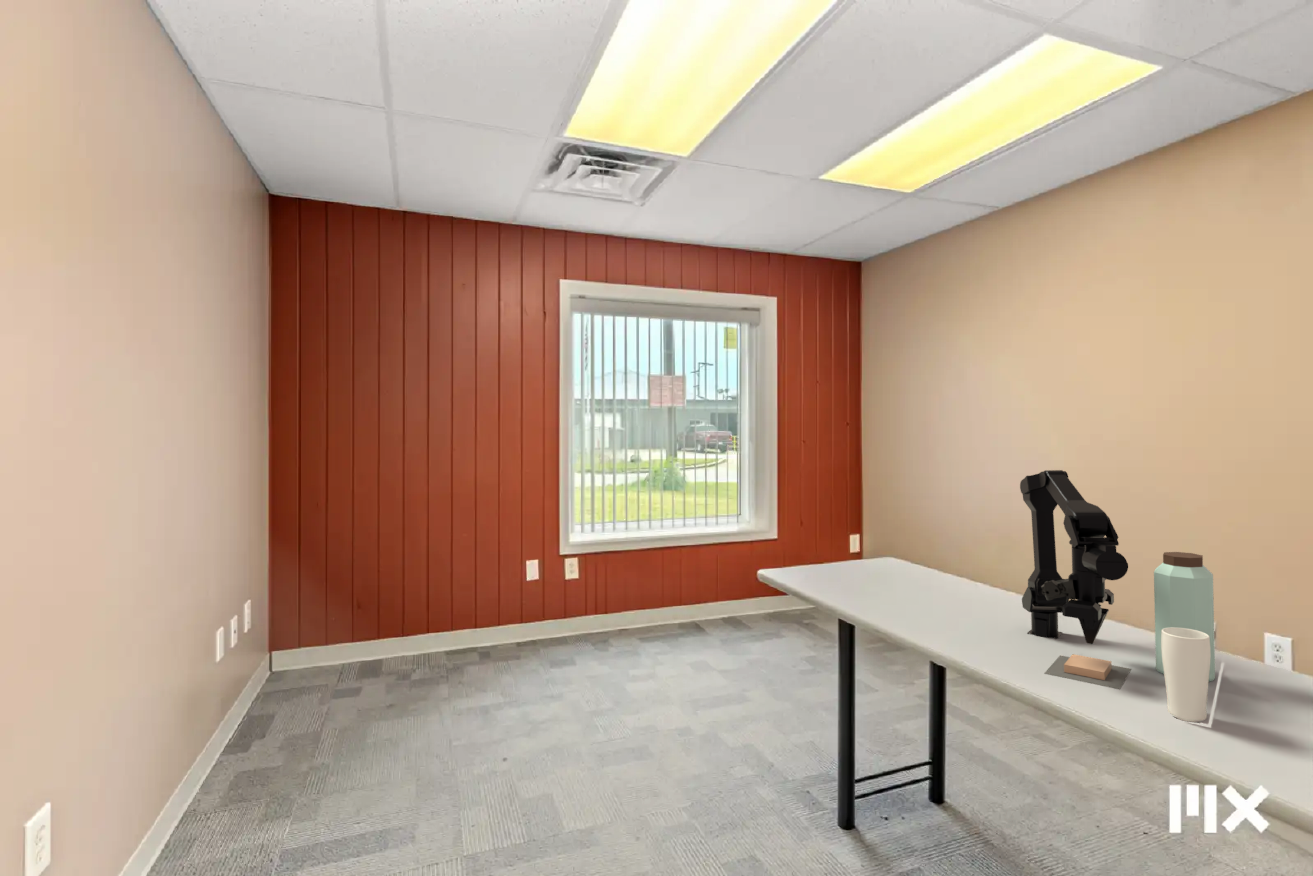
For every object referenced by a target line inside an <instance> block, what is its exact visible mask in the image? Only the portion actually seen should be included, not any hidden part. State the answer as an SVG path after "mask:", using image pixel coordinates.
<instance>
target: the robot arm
mask: <svg viewBox="0 0 1313 876" xmlns="http://www.w3.org/2000/svg"><path fill="white" fill-rule="evenodd" d="M1019 490H1020V493H1021V494H1022V500H1023V502H1024V503H1025V505H1026V506H1027V507H1028V509H1029V510H1030V513H1031V527H1032V528H1031V529H1032V530H1031V531H1032V545H1033V547H1032V549H1033V560H1034V561H1033V562H1034V564H1033V566H1034V570H1033V571H1032V573H1031V574H1030V576H1029V578H1028V579H1027V587H1026V589H1025V592H1024V594H1023V596H1022V598H1021V604H1022V608H1023V609H1024V610H1025V611H1027V612H1028V613H1030V619H1031V621H1030V622H1031V629H1030V630H1029V631H1027V633H1026V634H1027V635H1032V636H1036V637H1043V638H1049V639H1055V640H1056V639H1058V638H1059V637H1060V636H1061V635H1062V634H1063V632H1062V631H1059V614H1060V613H1061V614H1062V616H1063V617H1067V618H1075V619H1078V621H1079V624H1080V626H1081V630H1082V633H1083V637H1084V640H1085V643H1087V644H1090V645H1093V644H1094V643H1095V640H1096V638H1097V636H1098V634H1099V632H1100V629H1101V627H1102V626H1103V623H1104V622H1105V620H1106V617H1107V615H1108V613H1109V611H1110V609H1109V608H1103V607H1102V605H1101V604H1103V603H1104V602H1108V605H1113V604H1114V603H1115V593H1113V591H1111V589H1110V588H1106V580H1107V581H1118V580H1119V579H1122V578H1124V576H1125V575H1126V574H1127V572H1128V571H1129V570H1128V569H1129V563H1128V562H1127V559H1126V558H1125V556H1123V555H1122V553H1119V552H1117V546H1119V545H1120V544H1119V543H1120V542H1119V541H1118V540H1119V535H1118V534H1117V533H1118V532H1116V529H1115V527H1114V525H1113V523H1112V520H1111V519H1110V517H1109V516H1108V515H1107V513H1106V512H1105V511H1104V510H1103V509H1102V508H1100V507H1099V506H1098V505H1096V504H1093V503H1090V502H1088V501H1086V499H1085V498H1084V497H1083V496H1082V494H1081V493H1080V491H1079V490H1078V489H1077V487H1075V485H1074V484H1073V483H1072V481H1071V480H1070V479H1069V474H1068V472H1067V471H1065V470H1063V469H1061V470H1060V469H1054V470H1053V469H1051V470H1049V469H1048V470H1047V469H1046V470H1043V471H1040V472H1039V473H1035V474H1032V475H1025V477H1024V478H1023V479H1021V480H1020V484H1019ZM1057 506H1058V507H1059V508H1060V509H1061V511H1062V513H1063V514H1064V518H1063V523H1062V524H1063V526H1064V530H1065V531H1066V534H1067V536H1068V537H1069V539H1070V540H1069V541H1068V543H1069V545H1071V567H1072V568H1071V573H1070V574H1069V575H1068V578H1063V577H1062V576H1061V575H1060V573H1059V572H1058V566H1057V553H1056V551H1057V550H1056V549H1057V548H1056V536H1055V535H1056V534H1055V518H1054V511H1055V509H1057Z"/></svg>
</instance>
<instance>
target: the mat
mask: <svg viewBox="0 0 1313 876" xmlns="http://www.w3.org/2000/svg"><path fill="white" fill-rule="evenodd" d="M1070 657H1071V656H1066V655H1062V654H1061V655H1059V656H1058V657H1057V658H1056V659H1055V661H1054V662H1053V663H1051V665H1050V666H1049V667H1048V668H1047V669H1046V670H1045V671H1044V673H1043V674H1044V675H1048V676H1053V677H1058V678H1059V677H1060V678H1064V679H1069V680H1073V681H1077V682H1083V683H1087V684H1090V685H1091V684H1092V685H1097V686H1102V687H1107V688H1111V689H1114V690H1115V689H1116V690H1121V688H1122V686H1123V685H1124V683H1125V681H1126V679H1127V678H1128V676H1129V674H1131V673H1130V672H1131V670H1132V668H1131V667H1123V666H1118V665H1115V664H1114V665H1113V664H1112V669H1111V671H1110V672H1109V674H1108V675H1107V677H1106V679H1105V680H1101V679H1096V678H1091V677H1086V676H1081V675H1076V674H1071V673H1067V672H1064V664H1065V663H1066V661H1067V660H1068V659H1069V658H1070Z"/></svg>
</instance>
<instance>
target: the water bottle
mask: <svg viewBox="0 0 1313 876" xmlns="http://www.w3.org/2000/svg"><path fill="white" fill-rule="evenodd" d="M1203 557H1204V556H1203V555H1202V554H1197V553H1192V552H1183V551H1182V552H1181V551H1165V552H1164V551H1163V554H1162V563H1160V564H1159V565H1158V566H1156V568H1155V569H1154V571H1153V587H1154V589H1153V590H1154V591H1153V592H1154V593H1153V595H1154V598H1153V599H1154V600H1153V601H1154V639H1155V641H1154V642H1155V643H1154V644H1155V646H1154V647H1155V669H1156V671H1158V673H1161V674H1163V675H1164V669H1163V662H1162V652H1161V630H1162V629H1164V628H1170V627H1175V628H1186V629H1192V630H1197V631H1200V632H1203V633H1206V634H1207V635H1209V637H1210V651H1211V659H1210V672H1209V682H1213V681H1214V680H1215V679H1216V678H1215V677H1216V662H1215V661H1216V659H1215V657H1216V656H1215V653H1216V652H1215V648H1216V647H1215V613H1214V612H1215V611H1214V609H1215V608H1214V604H1215V603H1214V602H1215V601H1214V574H1213V573H1212V572H1211V571H1210V570H1209V569H1208V568H1207V567H1206V566H1205V565H1204V563H1203V562H1204V561H1203V560H1204V558H1203Z"/></svg>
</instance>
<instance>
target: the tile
mask: <svg viewBox="0 0 1313 876" xmlns="http://www.w3.org/2000/svg"><path fill="white" fill-rule="evenodd" d="M1069 657H1070V658H1069V659H1068V660H1067V661H1066V663H1065V664H1064V672H1067V673H1071V674H1076V675H1081V676H1086V677H1091V678H1096V679H1101V680H1105V679H1106V677H1107V675H1108V674H1109V672H1110V671H1111V669H1112V665H1113V663H1112V661H1111V660H1107V659H1100V658H1097V657H1096V658H1095V657H1091V656H1085V655H1080V654H1075V653H1073V654H1072V655H1071V656H1069Z"/></svg>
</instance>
